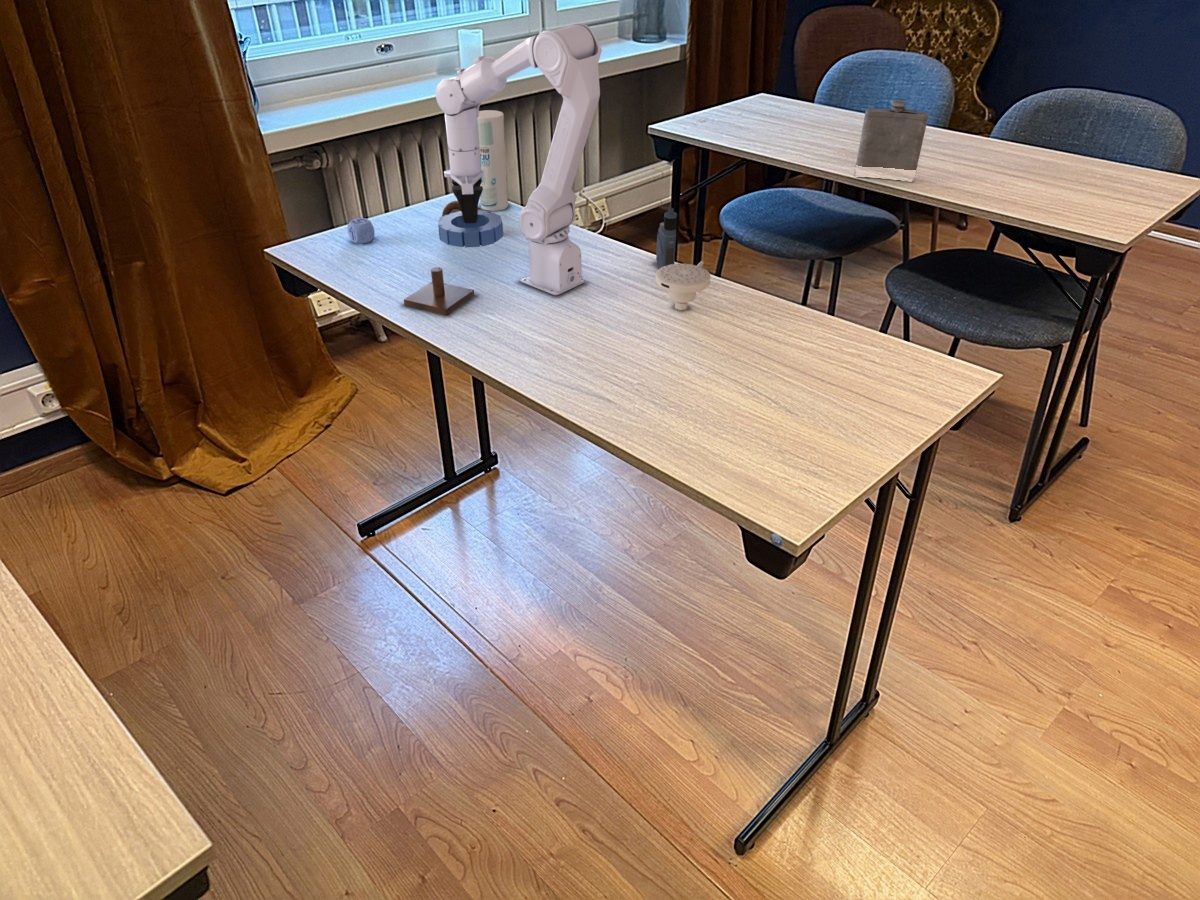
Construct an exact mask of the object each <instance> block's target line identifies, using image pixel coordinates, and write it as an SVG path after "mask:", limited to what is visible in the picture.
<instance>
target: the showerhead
mask: <svg viewBox="0 0 1200 900" xmlns="http://www.w3.org/2000/svg"><path fill="white" fill-rule="evenodd" d="M704 264H705V262H704V261H702V260H700V262H698V264H697V265H696V264H692V263H691V264H690V263H679V262H677V263H674V264H671V265H667V266H664V267H662V268H660V267H659V269H657V270H656V271H655V282H656V284H657V285H658V287H660V288H661V289H663V290H666V291H667V297H668V299H669V300H670V301H672V302H674V308H675V310H679V311H684V310H687V309H688V304H689V303H691V302H693V301H694V300H695V299H696V296H697V293H698V292H701V291H704V290H706V289H707V288H708V287H709V286H710V284H711V273H710V272H709V271H708V270H707V269H706V268H704V267H702V266H704Z"/></svg>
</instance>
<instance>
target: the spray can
mask: <svg viewBox="0 0 1200 900" xmlns="http://www.w3.org/2000/svg"><path fill="white" fill-rule="evenodd" d="M504 116H505V115H504V112H503V111H501V110H500V111H499V110H493V109H492V110H491V109H487V110H485V109H483V110H479V116H478V118H477V120H478V133H479V146H480V159H481V169H482V171H483V176H482V183H481V185H480V186H483V191H482V194H481V196H480V199H479V202H480V203H479V204H480V208H481V209H482V210H484V211H489V212H492V211H493V212H494V211H503V210H505V209H507V208H508V207H509V192H508V175H507V173H508V171H507V155H506V135H505V134H506V132H505V117H504Z"/></svg>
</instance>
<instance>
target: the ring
mask: <svg viewBox="0 0 1200 900" xmlns="http://www.w3.org/2000/svg"><path fill="white" fill-rule="evenodd" d="M482 210H483V209H482ZM482 210H478V211H477V220H476V223H465V222H464V219H463V215H462V212H461V211H458V212H454V213H450V214H448V215H445V216H443V217H442V216H441V217H442V218H440V217H439V219H438V221H437V222H438V223H437V227H438V237H439V240H440V242H442V243H444V244H446V245H448V246H452V247H458V248H464V249H465V248H479V247H485V246H489V245H491V244H493V245H494V244H495V243H497V242H499V241H500V240H501V239H502V238H503V237H504V225H503V218H502V217H503V216H501V215H499V214H497V213H495V212H492V211H490V210H483V211H482Z"/></svg>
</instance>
